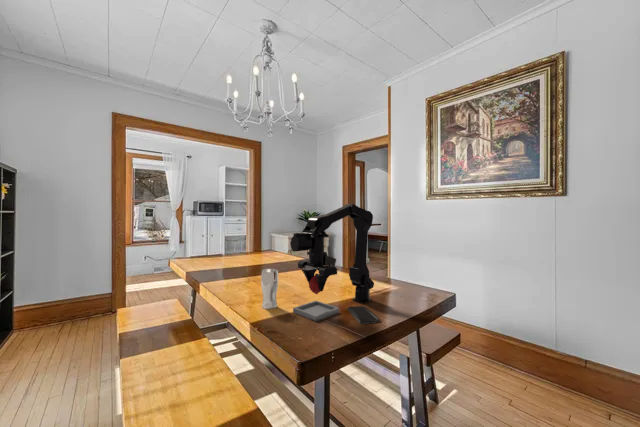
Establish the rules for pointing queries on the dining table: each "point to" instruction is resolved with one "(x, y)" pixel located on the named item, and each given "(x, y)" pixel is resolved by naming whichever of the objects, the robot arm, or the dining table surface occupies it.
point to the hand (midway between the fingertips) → (316, 289)
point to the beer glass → (269, 288)
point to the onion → (314, 285)
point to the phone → (363, 315)
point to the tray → (316, 310)
